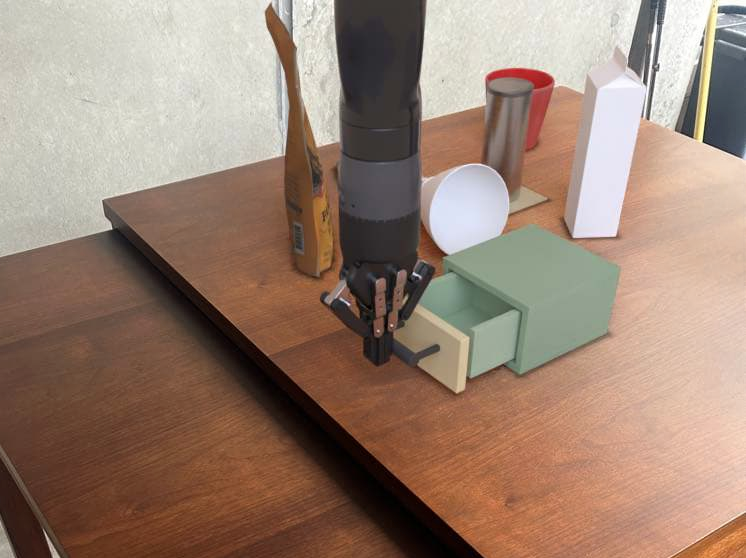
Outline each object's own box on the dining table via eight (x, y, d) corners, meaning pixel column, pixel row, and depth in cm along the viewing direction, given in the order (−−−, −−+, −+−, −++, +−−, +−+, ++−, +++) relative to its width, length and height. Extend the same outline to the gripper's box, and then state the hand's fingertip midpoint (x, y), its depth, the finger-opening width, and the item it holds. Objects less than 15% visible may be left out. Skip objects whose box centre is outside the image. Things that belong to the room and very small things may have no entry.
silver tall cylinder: (520, 187, 128) (533, 77, 118) (520, 205, 124) (533, 93, 113) (478, 185, 129) (487, 76, 118) (476, 203, 125) (486, 92, 114)
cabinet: (519, 375, 95) (529, 307, 89) (438, 322, 103) (442, 257, 97) (607, 333, 100) (621, 267, 94) (523, 286, 108) (532, 222, 102)
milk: (572, 239, 117) (601, 60, 101) (563, 218, 121) (590, 44, 106) (617, 237, 117) (653, 58, 101) (606, 217, 121) (640, 42, 106)
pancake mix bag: (284, 286, 110) (264, 41, 90) (281, 219, 123) (263, -7, 104) (337, 283, 110) (328, 38, 90) (328, 216, 124) (319, -9, 104)
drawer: (424, 408, 90) (427, 355, 85) (353, 354, 97) (352, 303, 92) (543, 353, 96) (551, 301, 92) (468, 306, 103) (472, 256, 99)
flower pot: (537, 128, 145) (545, 64, 138) (552, 153, 137) (562, 88, 130) (474, 131, 145) (479, 68, 138) (486, 157, 137) (492, 91, 130)
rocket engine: (401, 129, 120) (463, 144, 106) (459, 175, 127) (525, 195, 112) (358, 205, 123) (412, 229, 109) (416, 246, 130) (475, 274, 115)
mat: (500, 177, 132) (500, 175, 131) (547, 199, 126) (547, 197, 125) (450, 195, 128) (450, 193, 127) (496, 219, 122) (496, 216, 122)
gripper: (344, 233, 73) (347, 401, 86) (462, 192, 79) (449, 355, 91) (295, 203, 78) (305, 366, 90) (410, 166, 83) (405, 325, 95)
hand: (378, 360), depth 90 cm, fingers closed
